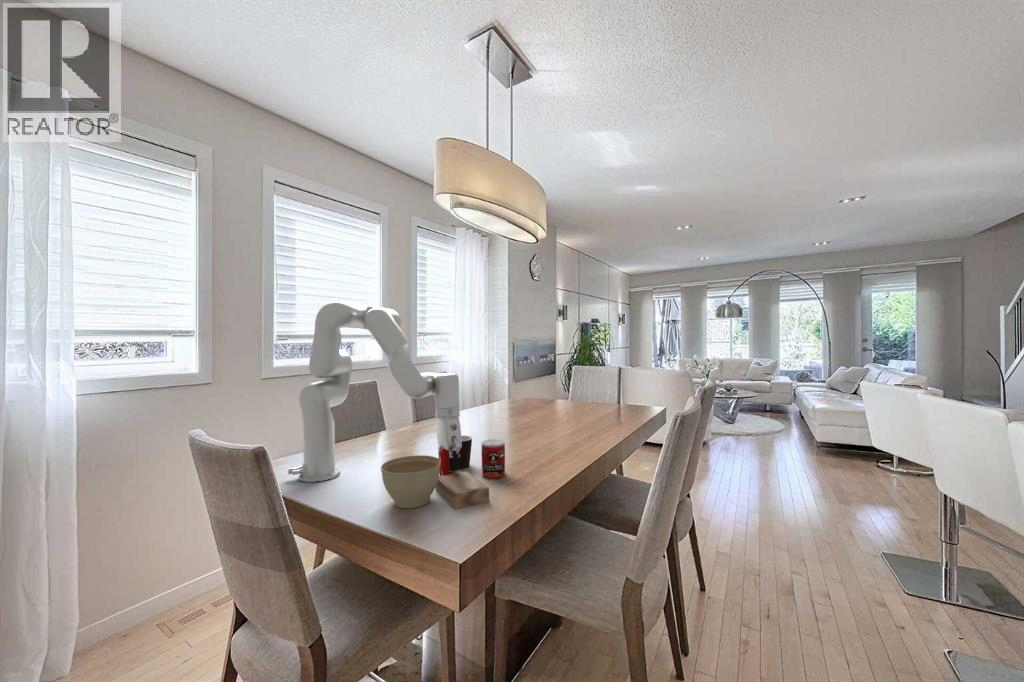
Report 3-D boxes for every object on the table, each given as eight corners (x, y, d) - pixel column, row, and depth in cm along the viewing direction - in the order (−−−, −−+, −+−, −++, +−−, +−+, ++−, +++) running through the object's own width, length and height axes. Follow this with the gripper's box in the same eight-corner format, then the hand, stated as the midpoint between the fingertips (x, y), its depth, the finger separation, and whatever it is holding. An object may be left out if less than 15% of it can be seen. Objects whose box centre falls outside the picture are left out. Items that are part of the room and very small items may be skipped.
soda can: (440, 479, 133) (439, 442, 133) (457, 478, 134) (456, 441, 134) (439, 485, 128) (438, 446, 128) (457, 484, 129) (456, 445, 129)
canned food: (481, 479, 132) (481, 445, 132) (482, 471, 140) (482, 439, 140) (505, 479, 133) (504, 444, 133) (505, 471, 141) (504, 438, 141)
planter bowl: (397, 490, 124) (396, 454, 124) (448, 492, 122) (448, 456, 122) (370, 512, 108) (369, 471, 108) (429, 516, 106) (428, 473, 106)
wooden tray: (455, 509, 110) (455, 493, 110) (435, 490, 124) (435, 476, 124) (489, 501, 115) (488, 486, 115) (466, 484, 129) (466, 470, 129)
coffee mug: (471, 470, 142) (470, 441, 142) (446, 470, 142) (445, 441, 142) (474, 460, 154) (474, 433, 154) (451, 460, 154) (451, 433, 154)
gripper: (469, 415, 125) (470, 471, 125) (449, 407, 140) (450, 457, 140) (445, 417, 121) (447, 475, 122) (427, 409, 137) (428, 461, 137)
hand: (449, 466), depth 131 cm, fingers open, 9 cm apart
